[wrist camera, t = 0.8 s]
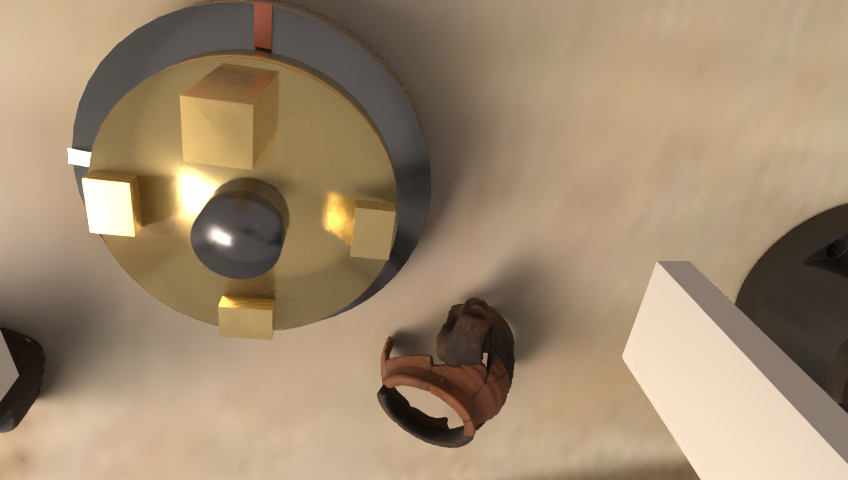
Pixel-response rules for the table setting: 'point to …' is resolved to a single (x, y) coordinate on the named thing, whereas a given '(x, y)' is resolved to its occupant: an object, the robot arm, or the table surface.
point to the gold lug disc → (244, 159)
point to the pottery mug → (453, 375)
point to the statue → (21, 379)
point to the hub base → (296, 46)
